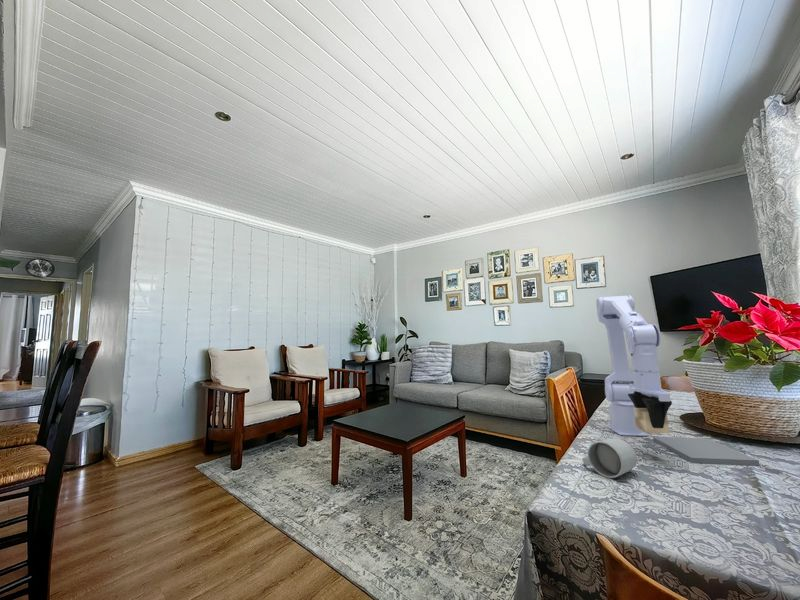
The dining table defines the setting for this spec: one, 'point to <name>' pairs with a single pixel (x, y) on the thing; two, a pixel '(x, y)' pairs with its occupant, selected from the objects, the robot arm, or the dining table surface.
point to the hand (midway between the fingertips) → (651, 424)
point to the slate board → (704, 451)
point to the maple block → (648, 422)
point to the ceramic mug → (611, 457)
